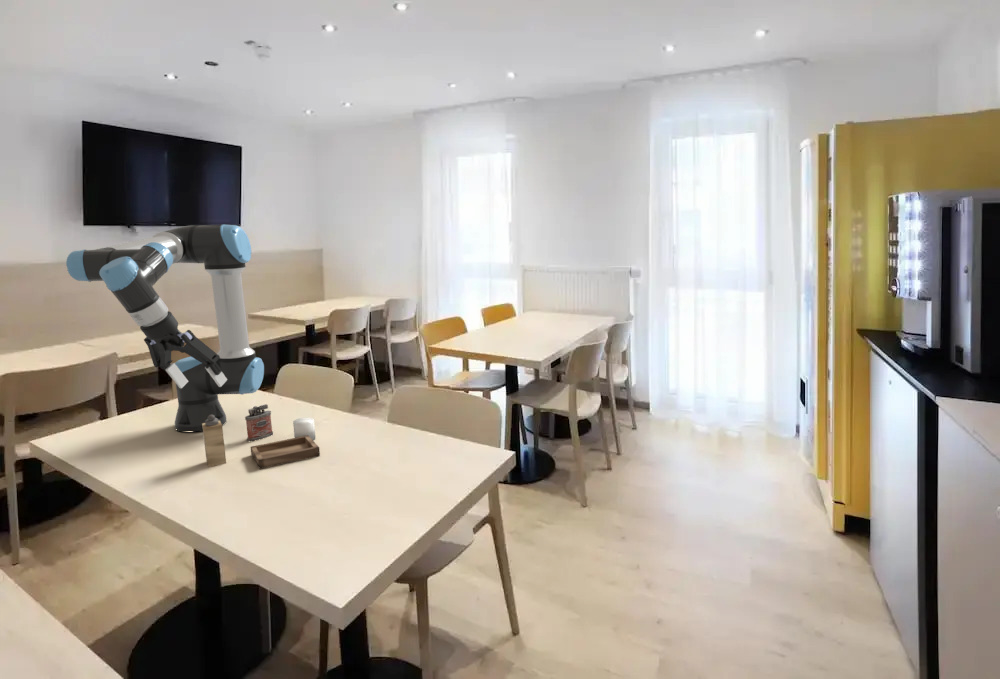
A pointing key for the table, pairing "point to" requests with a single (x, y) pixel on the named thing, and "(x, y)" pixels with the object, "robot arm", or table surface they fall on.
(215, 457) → the pepper mill
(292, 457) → the tray
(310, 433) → the white pillar candle
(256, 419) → the lighter
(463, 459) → the table surface
